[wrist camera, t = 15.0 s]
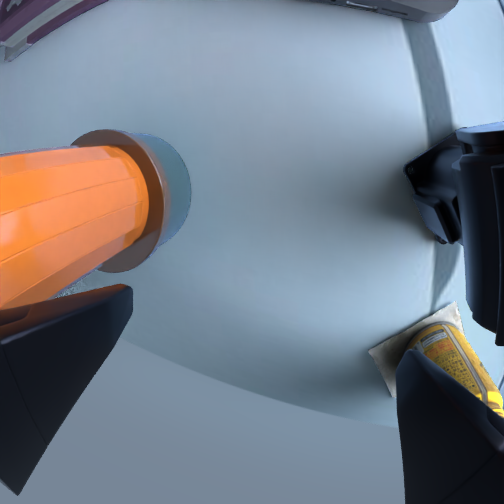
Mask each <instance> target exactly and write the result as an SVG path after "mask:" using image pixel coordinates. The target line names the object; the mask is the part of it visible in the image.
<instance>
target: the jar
mask: <svg viewBox="0 0 504 504" xmlns="http://www.w3.org/2000/svg"><path fill="white" fill-rule="evenodd" d="M75 145H111V146H114V147H117V148H119V149H121V150H123V151H124V152H126V153H127V154H128V155H129V156H130V157H131V158H132V159H133V160H134V161H135V162H136V164H137V165H138V167H139V168H140V170H141V172H142V174H143V177H144V179H145V182H146V186H147V190H148V198H149V210H148V217H147V221H146V225H145V227H144V230H143V232H142V234H141V235H140V237H139V238H138V240H137V241H136V242H135V243H134V244H133V245H132V246H131V247H129V248H128V249H126V250H125V251H123V252H122V253H121V254H120V255H118V256H117V257H115V258H114V259H112V260H110V261H109V262H107V263H106V264H104V265H103V266H101V267H100V268H98V269H97V270H99V271H103V272H109V273H119V272H125V271H129V270H131V269H133V268H135V267H137V266H138V265H140V264H141V263H143V262H144V261H145V260H147V259H148V258H149V257H150V256H151V255H152V254H153V253H154V252H155V251H156V250H157V248H158V247H159V246H161V245H162V244H164V243H165V242H166V241H168V240H169V239H171V238H172V237H173V236H174V235H175V234H176V233H177V232H178V231H179V229H180V228H181V226H182V225H183V223H184V221H185V219H186V217H187V214H188V211H189V207H190V201H191V184H190V179H189V175H188V172H187V169H186V166H185V164H184V162H183V160H182V159H181V157H180V155H179V154H178V153H177V152H176V150H175V149H174V148H173V147H172V146H171V145H170V144H168V143H167V142H165V141H164V140H162V139H160V138H158V137H156V136H153V135H150V134H142V133H128V132H125V131H121V130H113V129H103V130H95V131H91V132H89V133H86V134H84V135H83V136H81V137H79V138H78V139H77V140H75V141H74V142H73V143H72V144H71V145H70V146H75Z"/></svg>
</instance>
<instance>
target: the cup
mask: <svg viewBox="0 0 504 504" xmlns="http://www.w3.org/2000/svg"><path fill="white" fill-rule="evenodd" d="M148 210H149V198H148V190H147V186H146V182H145V179H144V177H143V174H142V172H141V170H140V168H139V167H138V165H137V164H136V162H135V161H134V160H133V159H132V158H131V157H130V156H129V155H128V154H127V153H126V152H124V151H123V150H121V149H119V148H117V147H114V146H111V145H75V146H63V147H52V148H42V149H33V150H25V151H17V152H10V153H4V154H0V310H4V309H9V308H14V307H19V306H24V305H28V304H33V303H37V302H42V301H46V300H50V299H54V298H55V297H57V296H58V295H60V294H61V293H62V292H64V291H65V290H67V289H68V288H70V287H71V286H73V285H74V284H76V283H77V282H79V281H80V280H81V279H83V278H84V277H86V276H87V275H89V274H90V273H92V272H94V271H95V270H97V269H98V268H100V267H101V266H103V265H104V264H106V263H107V262H109V261H110V260H112V259H114V258H115V257H117V256H118V255H120V254H121V253H122V252H123V251H125V250H126V249H128V248H129V247H131V246H132V245H133V244H134V243H135V242H136V241H137V240H138V238H139V237H140V235H141V234H142V232H143V230H144V227H145V225H146V221H147V217H148Z"/></svg>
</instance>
